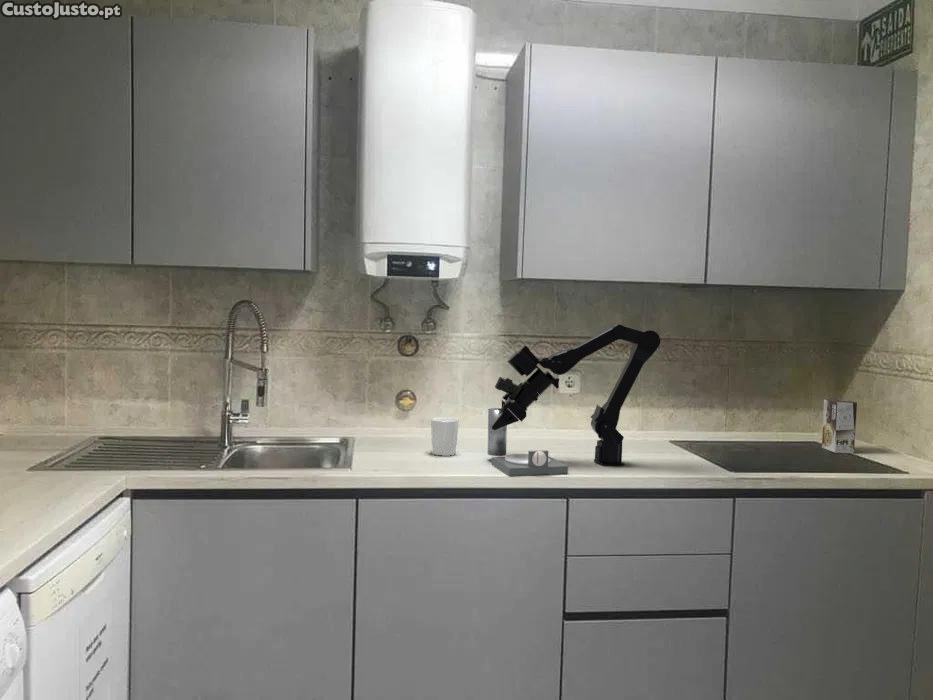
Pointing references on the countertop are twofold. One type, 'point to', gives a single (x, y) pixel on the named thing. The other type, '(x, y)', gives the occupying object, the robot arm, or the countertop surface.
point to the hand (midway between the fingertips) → (492, 427)
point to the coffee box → (839, 425)
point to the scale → (529, 464)
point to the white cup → (444, 435)
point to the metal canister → (496, 434)
